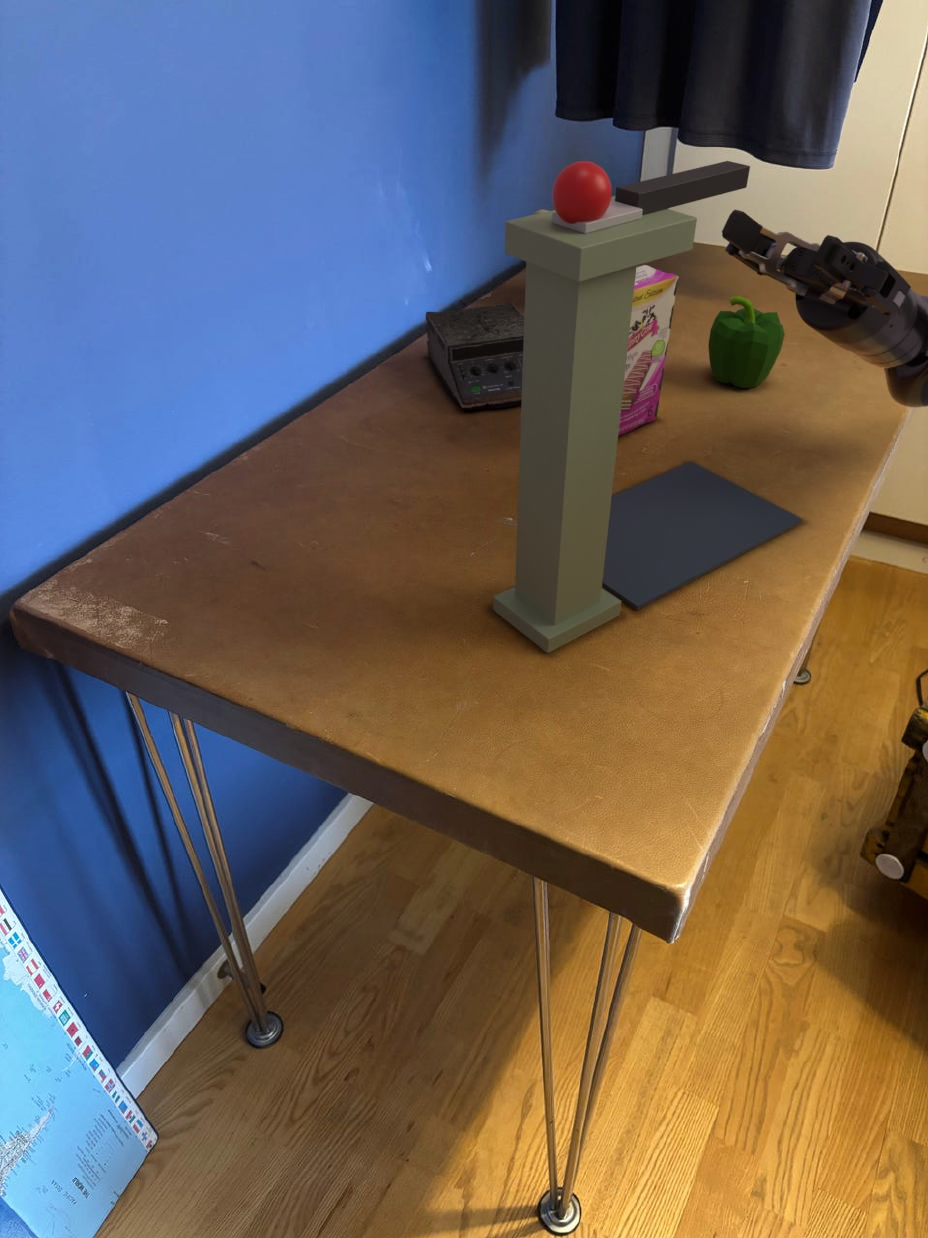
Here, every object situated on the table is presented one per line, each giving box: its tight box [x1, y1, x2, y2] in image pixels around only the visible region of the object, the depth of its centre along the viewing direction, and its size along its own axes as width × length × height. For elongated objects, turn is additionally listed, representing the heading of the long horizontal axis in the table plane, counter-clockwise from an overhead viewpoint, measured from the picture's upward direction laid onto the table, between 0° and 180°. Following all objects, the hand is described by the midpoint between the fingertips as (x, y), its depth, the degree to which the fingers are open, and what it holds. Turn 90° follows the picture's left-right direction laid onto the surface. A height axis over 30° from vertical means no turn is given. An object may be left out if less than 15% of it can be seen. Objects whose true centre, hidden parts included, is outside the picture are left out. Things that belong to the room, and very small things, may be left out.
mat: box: [602, 460, 803, 611], centre depth 86 cm, size 22×14×1 cm, turn 127°
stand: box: [492, 195, 698, 654], centre depth 67 cm, size 10×7×31 cm, turn 127°
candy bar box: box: [618, 264, 680, 437], centre depth 97 cm, size 11×5×16 cm, turn 130°
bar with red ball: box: [551, 160, 751, 234], centre depth 58 cm, size 17×4×4 cm, turn 128°
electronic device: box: [425, 301, 525, 411], centre depth 110 cm, size 12×17×6 cm
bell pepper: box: [708, 295, 786, 389], centre depth 108 cm, size 8×8×10 cm
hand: (774, 235), depth 69 cm, fingers open, 8 cm apart
